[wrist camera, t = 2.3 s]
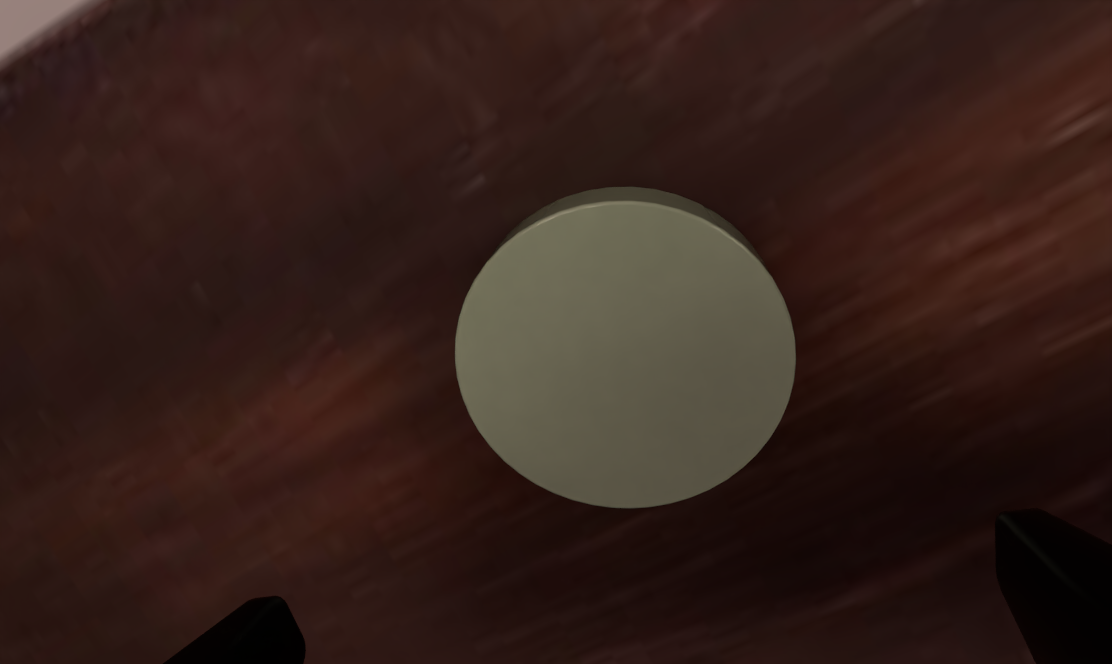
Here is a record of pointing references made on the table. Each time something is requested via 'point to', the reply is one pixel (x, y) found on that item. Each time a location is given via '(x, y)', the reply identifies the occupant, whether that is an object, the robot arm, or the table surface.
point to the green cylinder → (625, 349)
